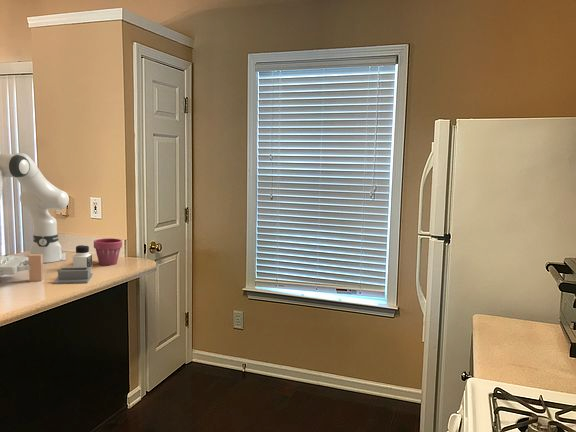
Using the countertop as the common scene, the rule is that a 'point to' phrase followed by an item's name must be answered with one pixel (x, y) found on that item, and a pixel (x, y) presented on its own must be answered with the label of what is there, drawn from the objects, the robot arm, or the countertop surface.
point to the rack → (73, 275)
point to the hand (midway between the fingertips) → (33, 265)
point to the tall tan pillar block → (36, 267)
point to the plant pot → (107, 250)
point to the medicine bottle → (82, 257)
